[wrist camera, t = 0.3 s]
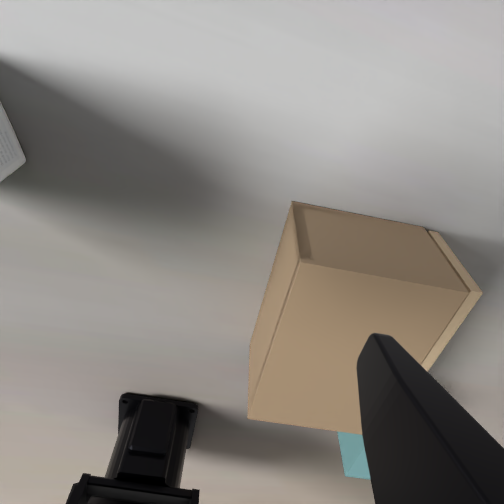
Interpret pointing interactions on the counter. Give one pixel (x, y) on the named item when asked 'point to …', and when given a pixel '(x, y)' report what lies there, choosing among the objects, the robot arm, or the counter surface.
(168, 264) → the counter surface
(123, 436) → the robot arm
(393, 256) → the carton
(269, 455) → the counter surface
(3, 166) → the syrup box
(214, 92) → the counter surface
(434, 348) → the carton flap
